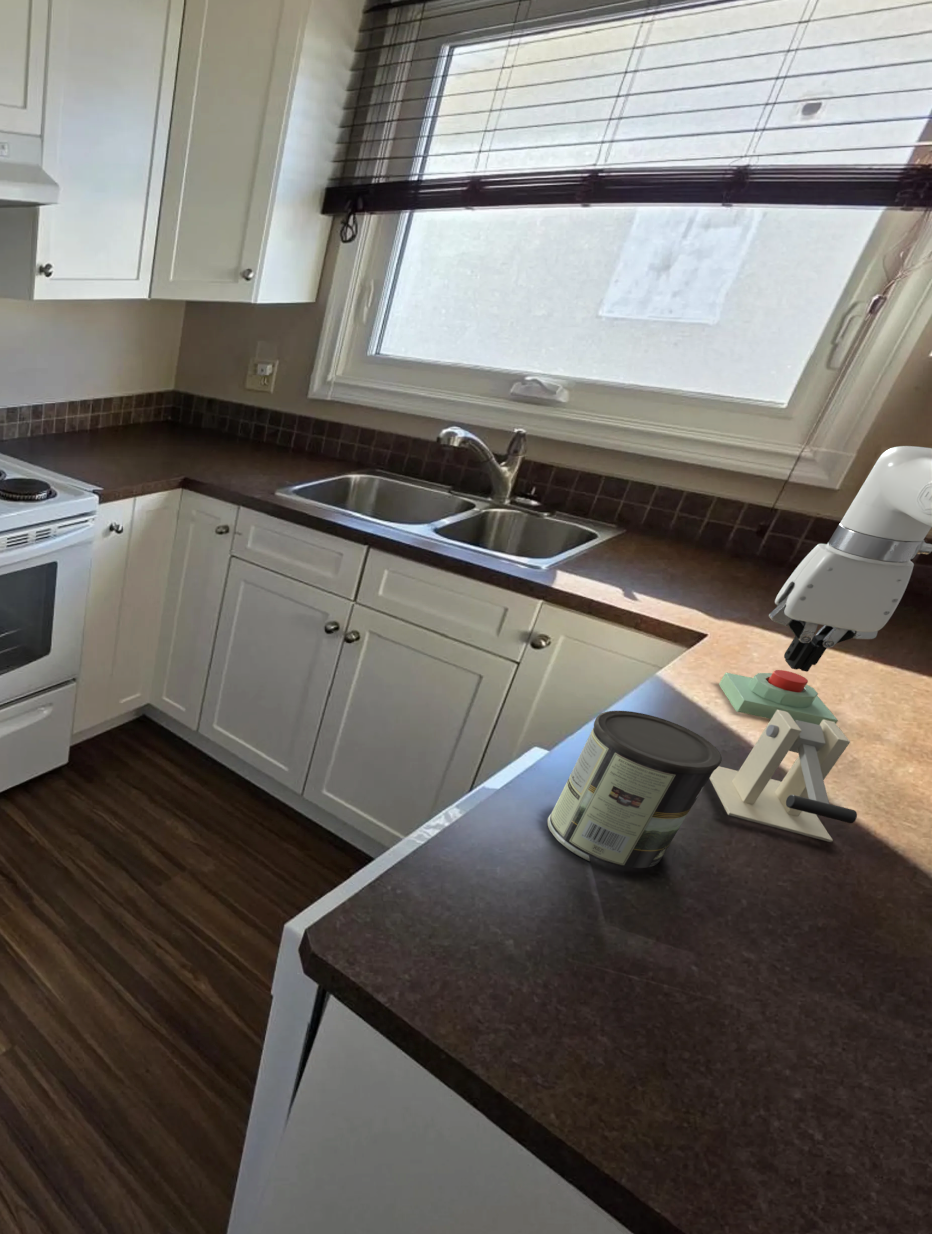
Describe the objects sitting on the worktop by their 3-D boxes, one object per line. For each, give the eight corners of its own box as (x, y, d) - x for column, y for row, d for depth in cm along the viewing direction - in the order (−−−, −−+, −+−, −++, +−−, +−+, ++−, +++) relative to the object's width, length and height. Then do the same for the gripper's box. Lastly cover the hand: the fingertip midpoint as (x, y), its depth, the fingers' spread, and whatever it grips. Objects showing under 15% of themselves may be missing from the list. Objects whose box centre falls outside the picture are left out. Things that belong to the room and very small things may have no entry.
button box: (805, 702, 114) (819, 679, 112) (829, 733, 106) (845, 709, 105) (718, 684, 118) (731, 661, 116) (736, 713, 111) (750, 689, 109)
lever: (846, 828, 81) (861, 816, 79) (783, 812, 83) (797, 800, 81) (824, 741, 88) (837, 728, 86) (767, 728, 90) (779, 716, 88)
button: (796, 684, 111) (802, 673, 110) (805, 696, 108) (812, 685, 107) (763, 677, 112) (770, 667, 112) (772, 689, 110) (778, 678, 109)
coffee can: (638, 823, 89) (696, 722, 82) (674, 886, 80) (742, 778, 74) (535, 800, 92) (583, 701, 85) (559, 858, 84) (614, 753, 77)
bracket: (827, 848, 86) (890, 763, 81) (724, 820, 90) (777, 737, 84) (791, 792, 95) (845, 712, 89) (699, 769, 98) (745, 691, 93)
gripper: (937, 547, 100) (855, 668, 109) (786, 525, 106) (720, 641, 115) (968, 566, 94) (879, 693, 103) (806, 542, 100) (735, 663, 109)
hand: (795, 665), depth 109 cm, fingers closed
